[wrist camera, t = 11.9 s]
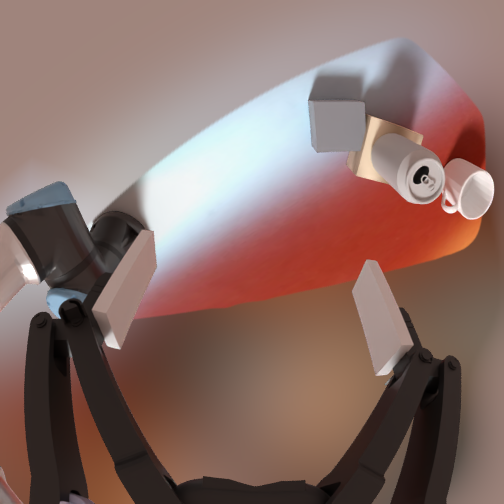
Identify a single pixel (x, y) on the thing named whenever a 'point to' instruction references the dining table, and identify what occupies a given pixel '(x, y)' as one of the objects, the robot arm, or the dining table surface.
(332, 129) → the slate block
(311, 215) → the dining table surface
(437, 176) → the can
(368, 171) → the birch block
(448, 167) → the mug
